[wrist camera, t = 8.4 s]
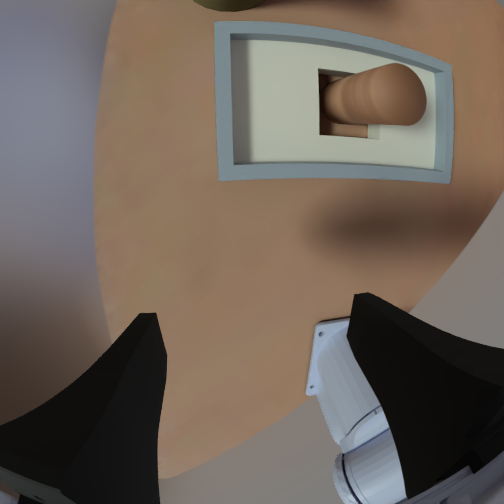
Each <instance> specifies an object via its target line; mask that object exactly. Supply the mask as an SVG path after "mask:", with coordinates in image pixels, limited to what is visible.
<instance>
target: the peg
mask: <svg viewBox="0 0 504 504" xmlns="http://www.w3.org/2000/svg"><path fill="white" fill-rule="evenodd" d="M319 103H320V107H321V110H322V112H323V113H324V115H325V116H326V117H327V118H328V119H329V120H331V121H332V122H334V123H337V124H379V125H401V126H410V125H413V124H416V123H417V122H418V121H419V120H420V119H421V118H422V117H423V115H424V113H425V110H426V104H427V98H426V92H425V88H424V86H423V83H422V81H421V80H420V78H419V77H418V75H417V74H416V73H415V72H414V71H413V70H412V69H410V68H409V67H407V66H405V65H403V64H400V63H390V64H387V65H383V66H380V67H376V68H373V69H369V70H366V71H363V72H360V73H357V74H354V75H351V76H348V77H345V78H342V79H339V80H336V81H333V82H331V83H328V84H327V85H326V86H325V87H324V88H323V89H322V91H321V93H320V97H319Z"/></svg>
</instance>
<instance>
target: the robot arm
mask: <svg viewBox="0 0 504 504" xmlns="http://www.w3.org/2000/svg"><path fill="white" fill-rule="evenodd" d="M320 332H322V333H320ZM319 333H320V334H319ZM166 373H167V353H166V349H165V346H164V342H163V338H162V334H161V330H160V327H159V323H158V319H157V314H156V313H140V314H139V315H138V316H137V317H136V318H135V319H134V320H133V321H132V323H131V324H130V325H129V326H128V327H127V328H126V329H125V331H124V332H123V333H122V334H121V335H120V336H119V337H118V339H117V340H116V341H115V342H114V343H113V344H112V345H111V346H110V348H109V349H108V350H107V351H106V352H105V353H104V354H103V355H102V356H101V357H100V358H99V359H98V360H97V361H96V362H95V363H94V364H93V365H92V366H91V367H90V368H89V369H88V370H87V371H86V372H85V373H83V374H82V375H81V376H80V377H79V378H78V379H77V380H75V381H74V382H73V383H72V384H71V385H69V386H68V387H67V388H65V389H64V390H62V391H61V392H60V393H58V394H57V395H55V396H54V397H53V398H51V399H50V400H48V401H47V402H45V403H44V404H42V405H40V406H39V407H37V408H35V409H34V410H32V411H30V412H28V413H26V414H25V415H23V416H21V417H19V418H16V419H14V420H12V421H10V422H7V423H5V424H3V425H1V426H0V480H1V481H3V482H4V483H5V484H7V485H8V486H9V487H11V488H12V489H13V490H15V491H16V492H18V493H19V494H20V497H19V501H18V500H16V499H15V498H13V497H11V496H10V495H8V494H6V493H4V492H2V491H0V504H160V497H159V485H158V460H157V446H158V429H159V422H160V416H161V409H162V403H163V396H164V390H165V384H166ZM306 394H307V395H308V396H311V395H317V398H318V401H319V403H320V406H321V408H322V411H323V414H324V416H325V419H326V422H327V425H328V427H329V430H330V433H331V435H332V437H333V439H334V440H335V442H336V443H338V444H339V445H340V446H341V448H342V451H343V452H342V453H340V454H338V455H337V457H336V459H335V464H334V468H333V477H334V482H335V486H336V489H337V491H338V493H339V495H340V497H341V499H342V501H343V502H344V503H345V504H504V349H502V348H496V347H491V346H487V345H483V344H479V343H476V342H472V341H469V340H466V339H463V338H460V337H457V336H455V335H452V334H450V333H447V332H445V331H442V330H440V329H438V328H436V327H434V326H432V325H430V324H428V323H426V322H423V321H422V320H420V319H418V318H416V317H414V316H412V315H410V314H408V313H407V312H405V311H403V310H401V309H399V308H398V307H396V306H394V305H392V304H390V303H389V302H387V301H385V300H383V299H381V298H379V297H377V296H375V295H373V294H371V293H369V292H367V293H360V294H354V299H353V305H352V310H351V315H350V318H346V319H340V320H333V321H327V322H321V323H318V324H317V325H316V327H315V333H314V340H313V347H312V354H311V361H310V368H309V374H308V380H307V386H306Z"/></svg>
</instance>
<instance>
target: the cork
mask: <svg viewBox="0 0 504 504" xmlns="http://www.w3.org/2000/svg"><path fill="white" fill-rule="evenodd" d="M193 1H194V2H196V3H198V4H200V5H202V6H203V7H205V8H209V9H213V10H217V11H232V12H236V11H241V10H246V9H250V8H253V7H255V6H257V5H259V4H262V3H263V2H264V1H265V0H193Z"/></svg>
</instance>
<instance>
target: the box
mask: <svg viewBox="0 0 504 504" xmlns="http://www.w3.org/2000/svg"><path fill="white" fill-rule="evenodd" d="M214 61H215V105H216V135H217V159H218V177H219V181H230V180H250V179H277V178H360V179H387V180H406V181H421V182H434V183H445V184H450V180H451V170H452V157H453V136H454V102H453V81H452V69H451V65H450V64H448V63H446V62H443V61H441V60H439V59H436V58H434V57H431V56H428V55H426V54H423V53H420V52H418V51H415V50H412V49H409V48H406V47H403V46H400V45H396V44H393V43H390V42H386V41H383V40H379V39H375V38H371V37H367V36H363V35H359V34H354V33H350V32H345V31H340V30H334V29H328V28H322V27H315V26H308V25H300V24H290V23H278V22H259V21H219V22H215V24H214ZM390 63H400V64H403V65H405V66H407V67H409V68H410V69H412V70H413V71H414V72H415V73H416V74H417V75H418V77H419V78H420V80H421V81H422V83H423V86H424V88H425V92H426V98H427V104H426V110H425V113H424V115H423V117H422V118H421V119H420V120H419V121H418V122H417V123H416V124H413V125H410V126H401V125H379V124H368V139H367V138H357V137H344V136H328V135H319V83H318V74H325V75H333V76H340V77H348V76H351V75H354V74H357V73H360V72H363V71H366V70H369V69H373V68H376V67H380V66H383V65H387V64H390Z"/></svg>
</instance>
